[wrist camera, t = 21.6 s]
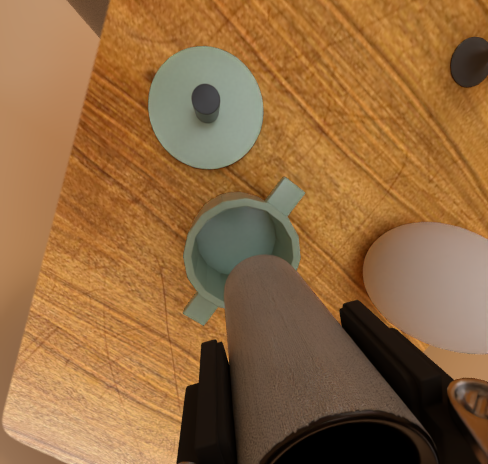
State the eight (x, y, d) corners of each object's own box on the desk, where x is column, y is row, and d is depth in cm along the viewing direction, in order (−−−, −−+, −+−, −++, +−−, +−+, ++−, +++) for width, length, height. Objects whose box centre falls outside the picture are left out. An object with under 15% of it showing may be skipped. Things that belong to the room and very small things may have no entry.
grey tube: (219, 258, 15) (230, 436, 5) (297, 248, 15) (453, 394, 5) (228, 329, 16) (251, 592, 6) (301, 318, 16) (436, 549, 6)
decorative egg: (398, 320, 36) (521, 421, 22) (329, 277, 34) (417, 359, 19) (456, 246, 35) (632, 302, 20) (389, 195, 32) (535, 217, 18)
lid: (128, 123, 27) (107, 111, 22) (192, 23, 26) (187, -15, 20) (220, 190, 30) (221, 195, 24) (282, 102, 28) (299, 87, 23)
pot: (159, 265, 31) (143, 295, 24) (241, 152, 29) (250, 146, 22) (232, 310, 33) (237, 350, 26) (311, 208, 31) (341, 220, 24)
